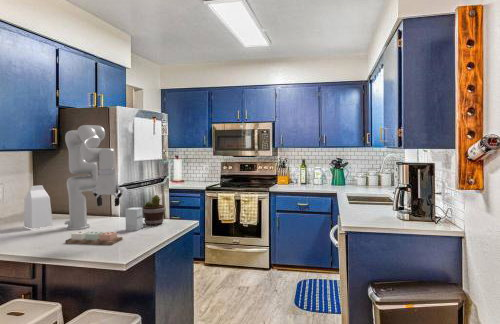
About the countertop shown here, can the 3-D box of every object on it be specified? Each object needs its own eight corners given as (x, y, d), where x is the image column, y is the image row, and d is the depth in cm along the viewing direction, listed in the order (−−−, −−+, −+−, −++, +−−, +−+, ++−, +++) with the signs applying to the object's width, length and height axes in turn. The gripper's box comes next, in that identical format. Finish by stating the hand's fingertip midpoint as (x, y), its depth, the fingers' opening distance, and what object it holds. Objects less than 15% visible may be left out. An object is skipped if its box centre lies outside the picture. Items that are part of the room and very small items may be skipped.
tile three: (99, 240, 181) (99, 234, 181) (106, 237, 187) (106, 231, 186) (110, 240, 180) (110, 234, 180) (116, 237, 186) (116, 231, 185)
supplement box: (136, 231, 208) (136, 209, 207) (125, 230, 209) (124, 209, 209) (143, 228, 215) (142, 207, 214) (132, 227, 216) (131, 207, 216)
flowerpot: (138, 223, 228) (137, 192, 227) (161, 220, 237) (160, 190, 236) (146, 227, 216) (145, 194, 216) (170, 224, 225) (169, 192, 225)
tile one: (71, 239, 183) (71, 233, 183) (78, 236, 189) (78, 230, 189) (81, 239, 182) (81, 233, 182) (89, 236, 188) (88, 230, 188)
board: (65, 243, 182) (65, 240, 182) (78, 238, 192) (77, 235, 192) (112, 244, 177) (111, 241, 177) (122, 239, 187) (122, 237, 187)
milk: (31, 230, 214) (30, 187, 213) (24, 227, 221) (22, 186, 220) (52, 226, 223) (51, 185, 222) (44, 224, 230) (43, 184, 229)
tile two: (85, 239, 182) (85, 233, 182) (92, 237, 188) (92, 231, 188) (96, 240, 181) (95, 234, 181) (102, 237, 187) (102, 231, 187)
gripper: (87, 173, 180) (88, 206, 181) (119, 172, 177) (120, 207, 178) (96, 172, 188) (97, 204, 188) (126, 171, 185) (127, 204, 185)
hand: (108, 205), depth 183 cm, fingers open, 9 cm apart
